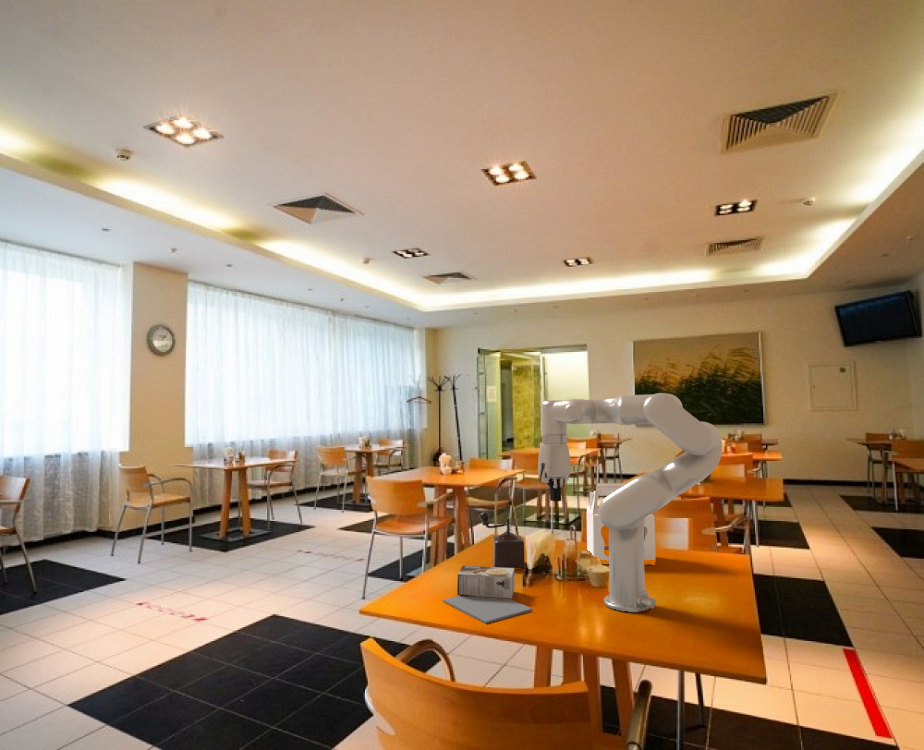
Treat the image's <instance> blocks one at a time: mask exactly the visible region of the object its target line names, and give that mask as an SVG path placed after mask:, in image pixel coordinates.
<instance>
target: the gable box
mask: <svg viewBox="0 0 924 750" xmlns="http://www.w3.org/2000/svg"><path fill="white" fill-rule="evenodd" d="M627 483H628V482H616V483H615V482H598V483H596V486H595V490H593V491H589V498H588V504H587V507H586V551H587V550H588V551H590V552H591V553H592V555H593V556H594V557H597V558H599V559H601V560H607V561H609V556H608V555H606V554H605V553H604V550H609V545H605V540H604V538H603V535H602V528H603V527H605V526H604V525H603V524H602V522H601V521H600V519H599V515H598V509H599V505H598V498H599V497H602V496H603V497H605V496H606V497H607V496H608V495H610V494H612V493H613V492H615V491H616V490H618V489H620V488H621V487H623V486H624V485H626V484H627ZM655 522H656V521H655V514H654V512H653V513H652V514H650V515H648V516H647V517H645V524H644V560H655V561H656V533H655V532H656V527H655V525H656V524H655Z"/></svg>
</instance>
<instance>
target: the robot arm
mask: <svg viewBox="0 0 924 750" xmlns="http://www.w3.org/2000/svg"><path fill="white" fill-rule="evenodd" d="M567 424H568V425H570V424H571V425H588V424H589V425H590V424H591V425H593V424H615V425H620V426H647V425H648V426H650V425H651V426H654V427H655V428H656V429H657V430H658V431H659V432H660V433H661V434H663V435H664V436H665V437H666V438H668V439H669V440H670V441H671V442H672V443H673V444H675V446H677V447H678V448H679V449H681V450H682V451H683V452H682V453H681V454H680V455H678V456H676V457H675V458H673V459H672V460H670V461H668V463H666V464H663V466H661V467H659V468H657V469H655V470H653V471H649V472H647V473H644V474H641V475H638V476H637V477H636V478H634V479H632V480H631V481H629V482H626V483H627V484H626V485H624V486H623V487H621V488H620V489H618V490H616V491H615V492H613V493H612V494H610V495H608V496H606V497H605V496H604V497H603V499H602V500H601V501H600V503H599V505H598V506H599V509H598V515H599V519H600V521H601V522H602V524H603V525H604V526H603V527H606V528H607V529H609V530H608V546H609V565H608V568H609V569H608V571H609V572H608V579H609V584H608V586H609V594H608V595H606V596H604V597H603V598H604V599H603V603H604V605H605V606H607V607H608V608H610V609H613V610H615V609H616V611H619V610H620V611H619V612H624V611H628V612H627V613H640V612H639V611H643V612H645V611H644V610H647V609H649V608H650V609H654V608H655V605H656V603H657V600H656V598H653V597H650V596H649V591H648V590H646V586H645V581H646V580H645V565H644V524H645V517H647V516H648V515H650V514H652V513H653V514H654V513H655V512H657V511H658V510H660V509H661V508H663V507H665V506H667V505H668V504H669V503H670V502H671V501H673V500H674V499H676V498H677V497H679V496H680V495H681V494H683V493H685V492H686V491H688V490H690V489H691V488H693V487H694V486H696V485H698V484H699V483H700V482H702V481H703V480H705V479H706V478H707V477H708V476H710V475H711V474H712V473H713V472H714V470H715V469H716V468H717V466H718V465H719V463H720V461H721V458H722V455H723V440H722V436H721V434H720V431H719V430H718V429H717V427H716V426H715V425H713V424H712V423H710V422H706V421H700V420H699V419H697V417H695V416H693V415H692V414H691V413H690V412H689V411H687V410H686V409H685V408H684V407H683V403H682V401H681V400H680V399H679V398H678V397H677V395H674V394H671V393H663V392H658V393H654V394H633V395H630V394H629V395H628V394H627V395H626V394H625V395H620V396H617V397H614V398H613V397H612V398H603V399H602V398H601V399H583V398H582V399H581V398H573V399H572V398H571V399H565V400H553V399H551V400H544V401H543V402H542V403H541V434H542V435H541V440H542V441H541V442H542V444H540V446H539V451H538V459H537V461H538V463H537V475H538V477H540V478H541V483H545V484H547V486H548V488H549V499H550V501H551V502H561V501H562V488H563V487H564V486H563V484H565V482H567V481H569V479H570V475H571V470H572V469H571V454H570V450H569V445H568V440H569V439H568V433H567V432H568V429H567V427H568V425H567ZM650 609H649V610H650ZM647 611H648V610H647Z"/></svg>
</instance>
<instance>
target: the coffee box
mask: <svg viewBox="0 0 924 750" xmlns="http://www.w3.org/2000/svg"><path fill="white" fill-rule="evenodd" d="M515 582H516V581H515V569H514V568H500V567H494V566H478V565H477V566H476V565H462V566H461V568H460V570H459V572H458V573H457V588H456V589H457V596H461V595H462V596H478V597H495V598H508V599H512V598H513V597H514V596H513V595H514V591H515V587H516V586H515Z"/></svg>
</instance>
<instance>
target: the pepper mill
mask: <svg viewBox="0 0 924 750" xmlns="http://www.w3.org/2000/svg"><path fill="white" fill-rule="evenodd" d="M478 518H479V519H480V521H481V522H482V526H485V527H486V528H488V529H495V528H496V529H497V528H502V527H505V526H506V530H505V531H504V532H503V533H501V534H499V535H493V538H492V539H493V545H492V546H493V555H492V556H493V559H492V564H494V565H493V567H500V568H522V569H521V570H525V542H524V540H523V538H522V535H517V534H516V533H513V532H511V530H510V524H511V521H510V520H511V519H510V517H507V518H505V519H506V522H505V523H501V524H495V525H490V523H491V522H490V521H489V520H490V519H489V518H490V513H489V512H487V511H482V512H481V513H479V515H478Z"/></svg>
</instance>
